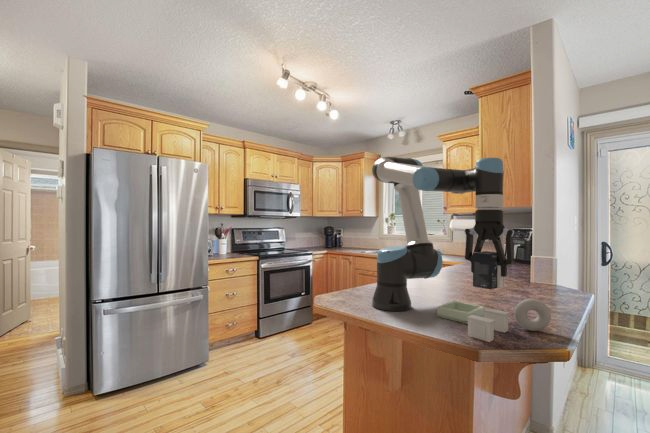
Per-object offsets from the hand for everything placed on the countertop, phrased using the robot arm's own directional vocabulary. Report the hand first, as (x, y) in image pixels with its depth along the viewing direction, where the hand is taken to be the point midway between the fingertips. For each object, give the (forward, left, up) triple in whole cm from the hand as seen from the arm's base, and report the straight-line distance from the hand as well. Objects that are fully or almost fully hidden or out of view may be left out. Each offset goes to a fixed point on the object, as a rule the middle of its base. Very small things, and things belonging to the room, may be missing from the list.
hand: (488, 285), depth 93 cm
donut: (+8, +13, -15) cm, 21 cm away
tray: (-13, +10, -14) cm, 22 cm away
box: (0, 0, -1) cm, 1 cm away
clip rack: (0, 0, -14) cm, 14 cm away
